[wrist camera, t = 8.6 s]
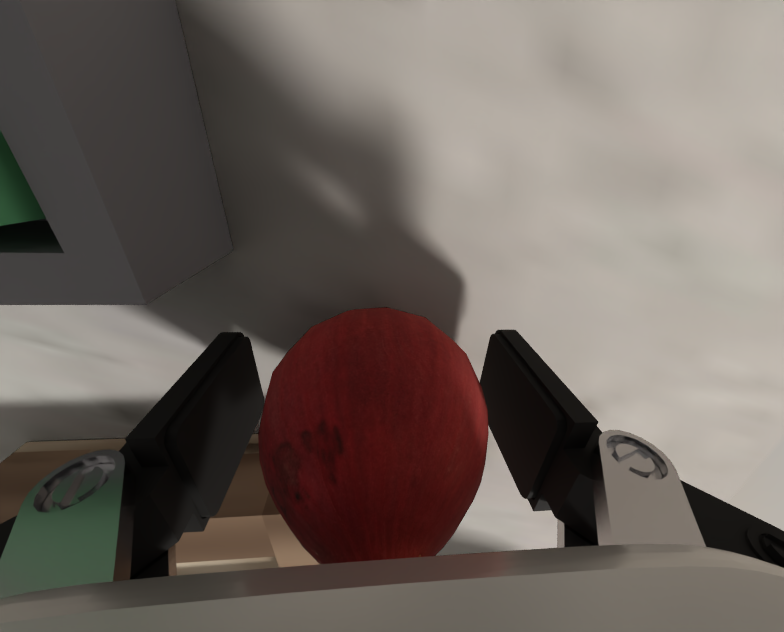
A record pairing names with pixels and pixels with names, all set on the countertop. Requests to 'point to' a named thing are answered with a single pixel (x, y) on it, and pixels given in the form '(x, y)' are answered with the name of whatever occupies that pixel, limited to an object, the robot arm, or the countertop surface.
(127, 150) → the button housing
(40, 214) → the button
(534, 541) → the countertop surface
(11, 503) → the open box
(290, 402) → the onion
